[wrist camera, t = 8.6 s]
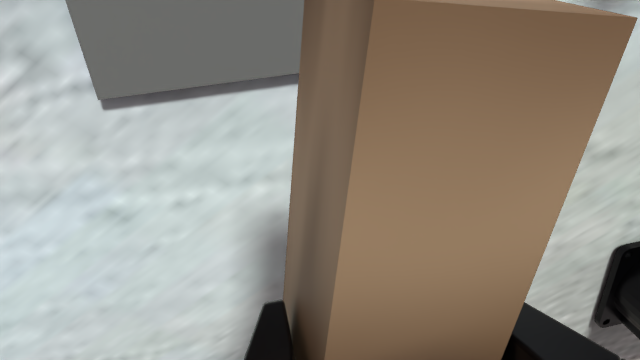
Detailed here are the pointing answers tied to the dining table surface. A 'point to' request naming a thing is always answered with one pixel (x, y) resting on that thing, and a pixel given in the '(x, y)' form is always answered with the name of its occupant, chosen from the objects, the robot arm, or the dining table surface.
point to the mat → (185, 42)
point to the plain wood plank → (434, 167)
